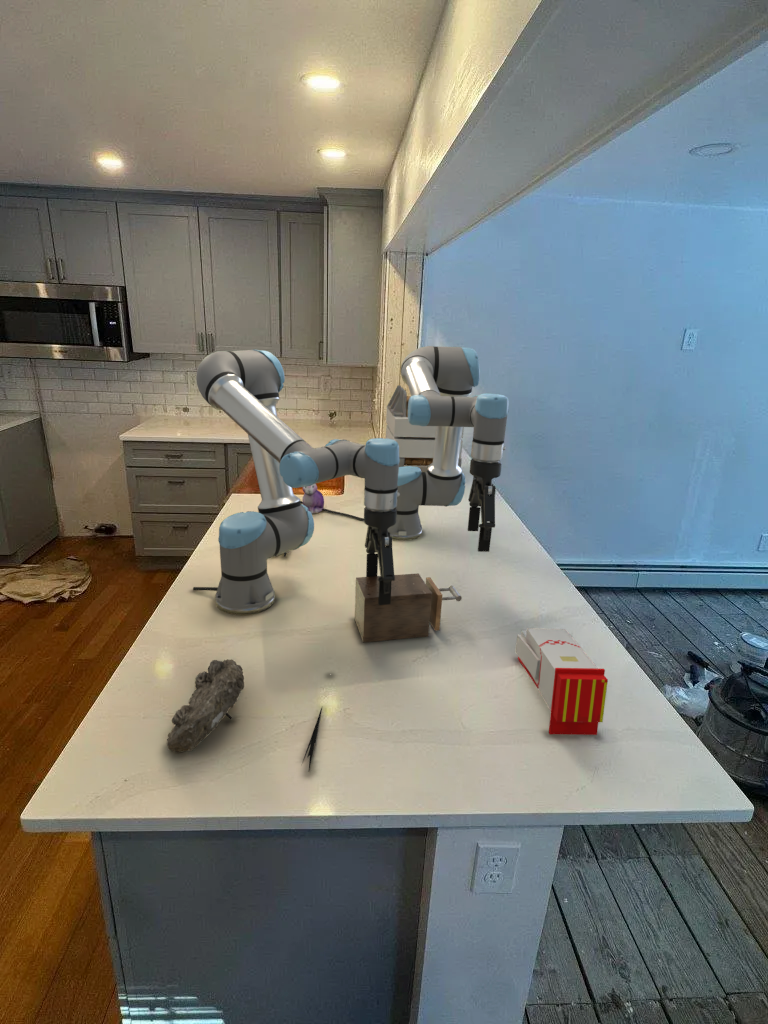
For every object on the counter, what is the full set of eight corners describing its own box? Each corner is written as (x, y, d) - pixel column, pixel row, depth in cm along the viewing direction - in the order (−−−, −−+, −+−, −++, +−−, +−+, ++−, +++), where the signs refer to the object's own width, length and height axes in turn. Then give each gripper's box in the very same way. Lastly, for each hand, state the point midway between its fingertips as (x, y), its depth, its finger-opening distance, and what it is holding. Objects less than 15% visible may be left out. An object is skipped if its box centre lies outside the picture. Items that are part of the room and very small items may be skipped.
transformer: (382, 463, 289) (386, 382, 275) (445, 464, 293) (451, 384, 279) (390, 482, 257) (394, 392, 243) (460, 483, 261) (468, 394, 247)
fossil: (192, 660, 117) (244, 628, 112) (224, 691, 120) (276, 661, 115) (142, 746, 98) (202, 712, 93) (182, 779, 101) (242, 748, 96)
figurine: (305, 516, 212) (305, 477, 207) (296, 507, 221) (296, 470, 216) (329, 512, 216) (329, 475, 211) (319, 504, 225) (319, 468, 220)
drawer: (449, 609, 149) (452, 575, 146) (462, 628, 140) (465, 593, 137) (371, 615, 144) (373, 581, 141) (380, 635, 135) (382, 599, 132)
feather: (331, 679, 122) (336, 673, 122) (307, 777, 96) (313, 769, 95) (324, 675, 122) (329, 669, 121) (298, 772, 95) (304, 764, 95)
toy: (561, 612, 132) (617, 675, 103) (556, 665, 135) (608, 741, 106) (510, 611, 132) (551, 674, 102) (505, 664, 134) (544, 741, 105)
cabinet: (415, 614, 148) (418, 573, 144) (428, 636, 138) (431, 593, 134) (354, 619, 144) (355, 577, 140) (363, 642, 134) (364, 598, 130)
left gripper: (411, 525, 119) (406, 614, 126) (383, 490, 142) (381, 567, 149) (376, 527, 117) (373, 617, 124) (354, 491, 140) (352, 569, 147)
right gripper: (515, 473, 126) (504, 561, 133) (490, 448, 149) (482, 523, 156) (481, 472, 125) (472, 560, 132) (462, 447, 149) (455, 522, 156)
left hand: (377, 590), depth 136 cm, fingers open, 13 cm apart
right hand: (477, 540), depth 144 cm, fingers open, 13 cm apart
